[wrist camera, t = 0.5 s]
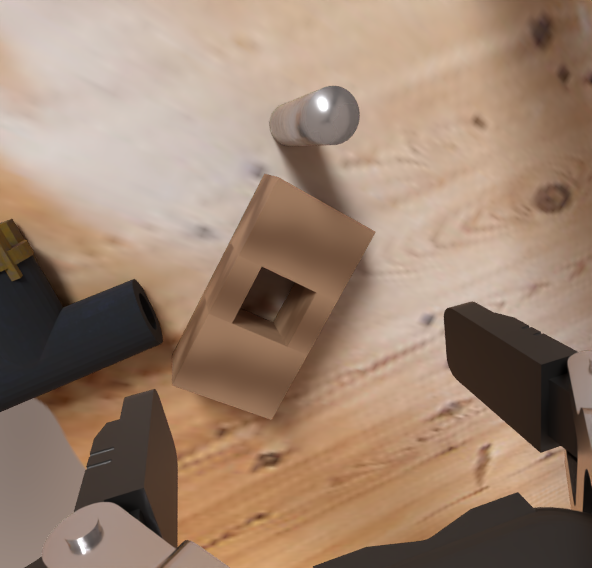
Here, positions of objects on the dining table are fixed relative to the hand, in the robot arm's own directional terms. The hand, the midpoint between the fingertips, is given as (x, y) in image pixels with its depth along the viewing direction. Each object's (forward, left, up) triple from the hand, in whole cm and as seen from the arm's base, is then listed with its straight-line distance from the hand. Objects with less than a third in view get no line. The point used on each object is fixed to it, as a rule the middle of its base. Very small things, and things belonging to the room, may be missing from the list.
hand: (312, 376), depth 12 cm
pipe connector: (+11, -10, -25) cm, 29 cm away
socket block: (+3, +5, -24) cm, 25 cm away
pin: (-9, +1, -24) cm, 26 cm away
